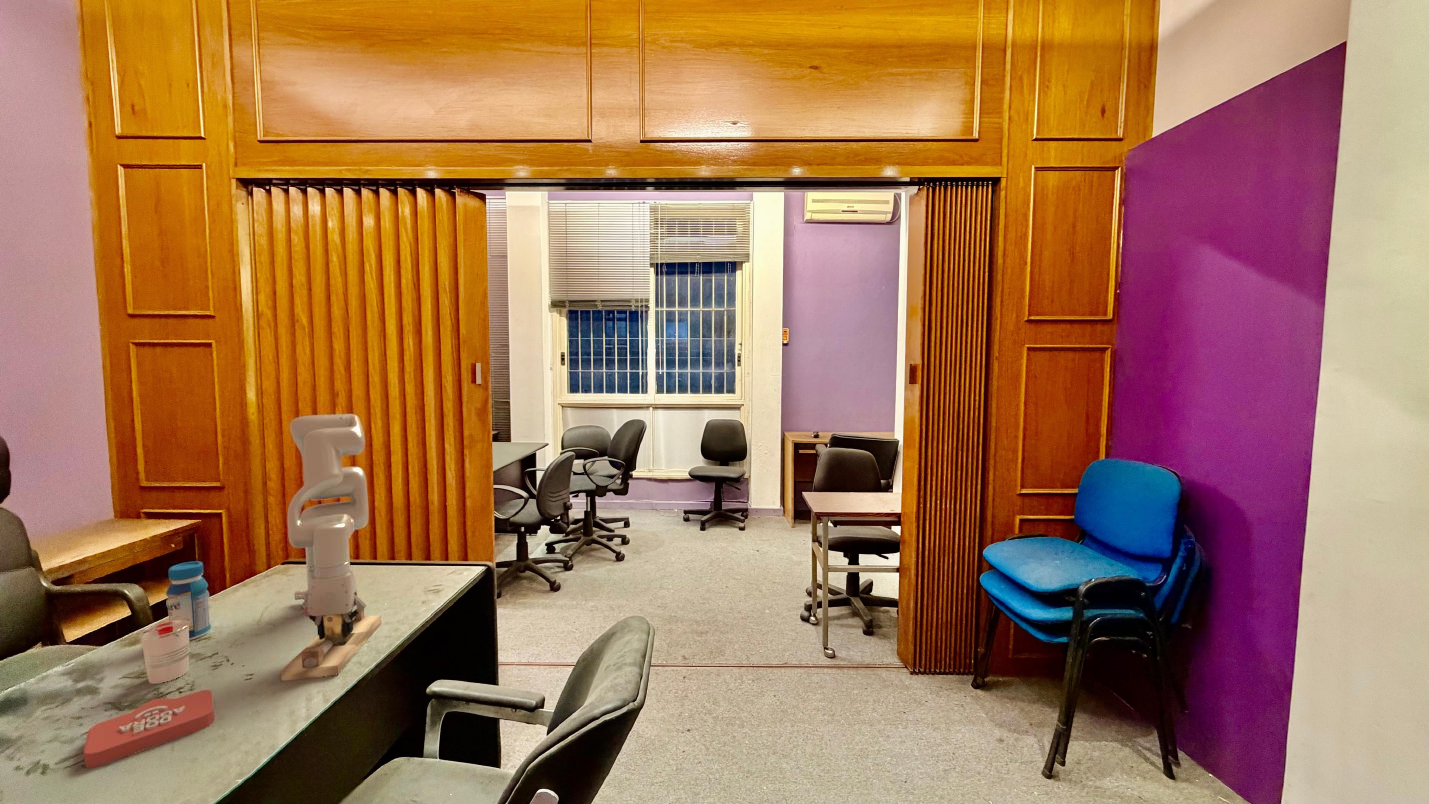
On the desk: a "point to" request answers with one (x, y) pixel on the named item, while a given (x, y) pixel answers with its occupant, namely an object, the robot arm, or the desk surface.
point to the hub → (333, 628)
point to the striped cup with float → (166, 650)
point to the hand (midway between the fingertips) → (335, 635)
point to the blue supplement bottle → (189, 597)
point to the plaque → (148, 727)
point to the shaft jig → (331, 651)
